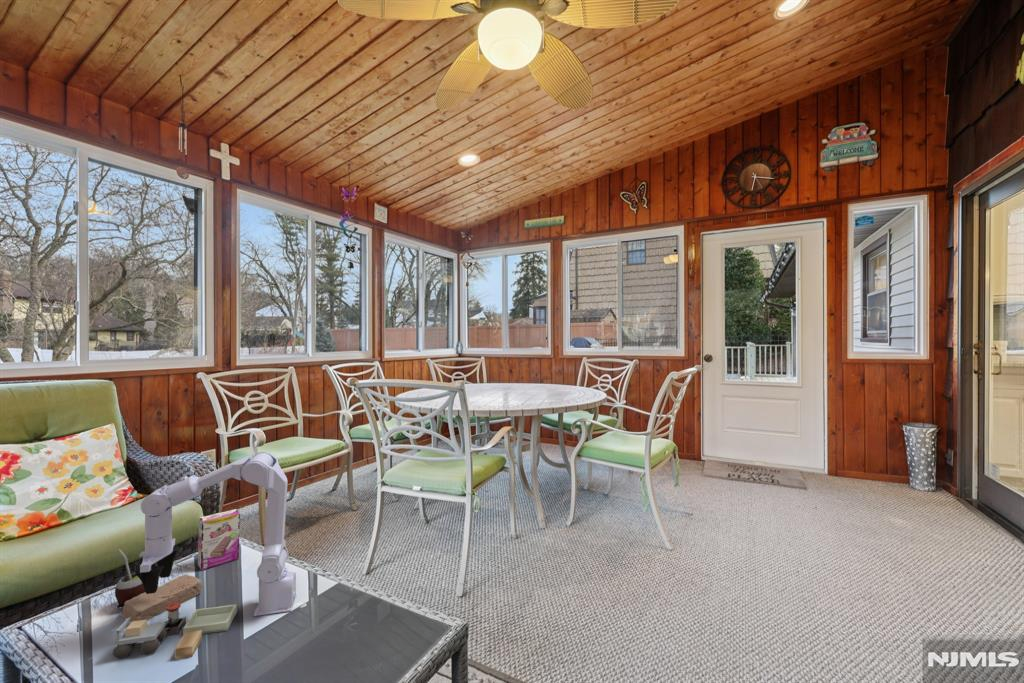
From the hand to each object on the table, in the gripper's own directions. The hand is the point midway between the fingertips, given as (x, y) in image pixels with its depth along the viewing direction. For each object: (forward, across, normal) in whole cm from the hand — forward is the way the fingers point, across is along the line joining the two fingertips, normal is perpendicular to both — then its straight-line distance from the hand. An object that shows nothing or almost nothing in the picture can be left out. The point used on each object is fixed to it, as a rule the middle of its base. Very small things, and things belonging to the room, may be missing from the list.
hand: (158, 584), depth 120 cm
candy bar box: (+10, -30, +5) cm, 32 cm away
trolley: (+10, +11, +1) cm, 15 cm away
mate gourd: (+10, -10, -11) cm, 18 cm away
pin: (+10, +5, +6) cm, 13 cm away
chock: (+10, +14, +12) cm, 21 cm away
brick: (+11, -8, -2) cm, 14 cm away
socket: (+10, +5, +6) cm, 13 cm away
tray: (+10, +4, +14) cm, 18 cm away
